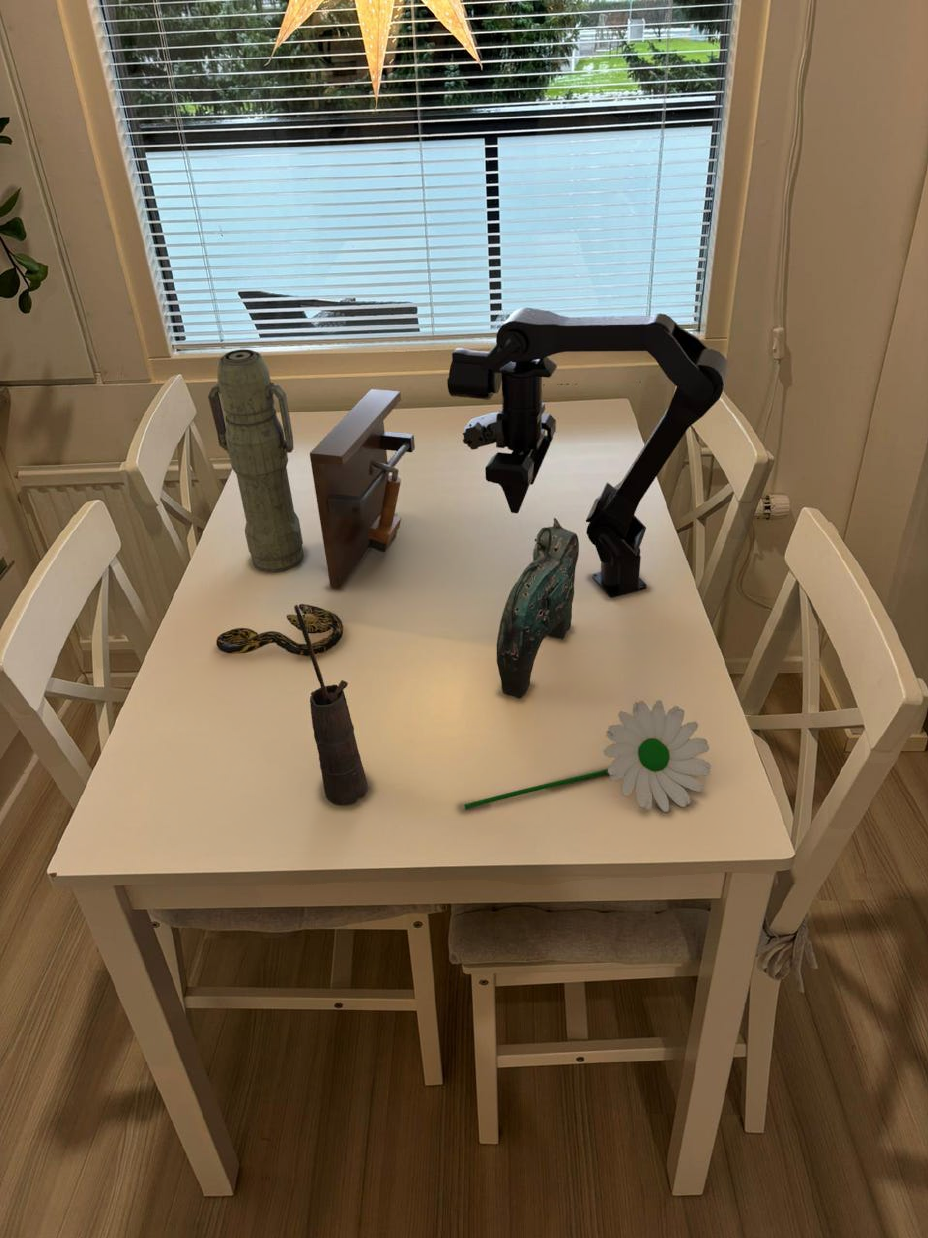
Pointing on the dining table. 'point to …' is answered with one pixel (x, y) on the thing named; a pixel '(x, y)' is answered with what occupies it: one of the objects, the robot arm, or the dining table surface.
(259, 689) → the dining table surface
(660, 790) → the flower
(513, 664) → the dark green arched piece
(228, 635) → the toy snake
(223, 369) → the thermos
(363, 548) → the wall shelf
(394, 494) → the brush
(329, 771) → the butter churn
